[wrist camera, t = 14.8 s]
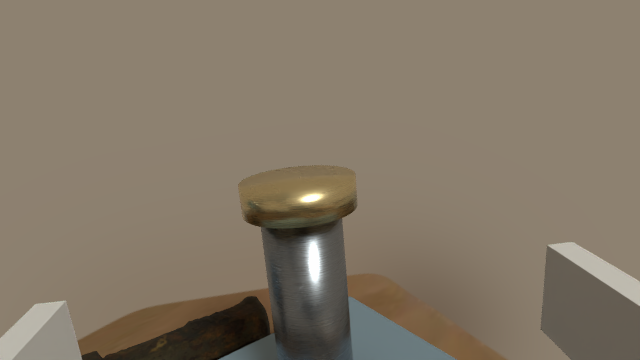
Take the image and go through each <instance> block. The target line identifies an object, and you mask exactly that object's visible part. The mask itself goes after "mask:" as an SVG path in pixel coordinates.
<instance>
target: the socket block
mask: <svg viewBox="0 0 640 360" xmlns="http://www.w3.org/2000/svg"><path fill="white" fill-rule="evenodd" d="M348 301H349V314H350V327H351V340H352V352H353V360H456V359H455V358H453V357H451V356H450V355H448V354H446V353H445V352H443V351H441V350H440V349H438V348H436V347H435V346H433V345H431V344H430V343H428V342H426V341H424V340H423V339H421V338H419V337H418V336H416V335H414V334H413V333H411V332H409V331H408V330H406V329H404V328H403V327H401V326H399V325H397V324H396V323H394V322H392V321H391V320H389V319H387V318H386V317H384V316H382V315H381V314H379V313H377V312H376V311H374V310H372V309H370V308H369V307H367V306H365V305H364V304H362V303H360V302H359V301H357V300H355V299H354V298H352V297H348ZM218 360H278V357H277V349H276V341H275V333H273V334H271V335H268V336H266V337H264V338H262V339H260V340H258V341H256V342H254V343H252V344H250V345H248V346H246V347H243V348H241V349H239V350H237V351H235V352H233V353H231V354H229V355H227V356H225V357H223V358H221V359H218Z"/></svg>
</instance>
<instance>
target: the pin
mask: <svg viewBox="0 0 640 360" xmlns="http://www.w3.org/2000/svg"><path fill="white" fill-rule="evenodd" d="M238 187H239V195H240V203H241V209H242V217H243V219H244V220H245V221H246V222H248V223H250V224H252V225H255V226H259V227H261V232H262V239H263V247H264V255H265V262H266V271H267V279H268V286H269V294H270V302H271V310H272V318H273V325H274V333H275V341H276V349H277V357H278V360H353V352H352V340H351V327H350V314H349V301H348V289H347V276H346V264H345V251H344V238H343V225H342V218H343V217H345V216H347V215H349V214H351V213H352V212H353V211H354V210H355V209H356V208H357V192H356V177H355V172H354V171H352V170H350V169H348V168H343V167H338V166H324V165H322V166H321V165H314V166H298V167H289V168H282V169H276V170H271V171H267V172H262V173H259V174H256V175H253V176H250V177H248V178H246V179H244V180H242V181H241V182H240V183H239V184H238Z"/></svg>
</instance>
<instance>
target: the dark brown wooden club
mask: <svg viewBox="0 0 640 360" xmlns="http://www.w3.org/2000/svg"><path fill="white" fill-rule="evenodd" d="M268 335H271V334H270V328H269V321H268V316H267V313H266V310H265V308H264V307H263V305H262V304H261V303H260V302H259V300H258V298H257V297H254V296H250V297H246V298H245V299H244V300H243V301H242V302H240V303H239V304H237V305H235V306H233V307H231V308H229V309H226V310H223V311H220V312H215V313H214V314H212V315H210V316H205V317H203V318H200V319H195V320H193V321H189V322H188V323H187V324H186V325H185V326H184V327H181V328H178V329H176V330H174V331H171V332H168V333H166V334H163V335H161V336H159V337H156V338H154V339H151V340H149V341H146V342H143V343H141V344H138V345H135V346H133V347H130V348H127V349H125V350H121V351H119V352H117V353H113V354H109V355H106V356H105V358H102V357H101V356H100V355H99V354H98V353H97V351H94V352H91V353H88V354H85V355H82V356H81V357H82V360H214V359H217V358H219V357H222V356H224V355H226V354H229V353H231V352H233V351H236V350H239V349H241V348H242V347H244V346H246V345H248V344H250V343H253V342H255V341H258V340H260V339H262V338H264V337H266V336H268Z"/></svg>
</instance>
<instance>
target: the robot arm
mask: <svg viewBox="0 0 640 360" xmlns="http://www.w3.org/2000/svg"><path fill="white" fill-rule="evenodd" d="M544 280H545V281H544V292H543V293H544V294H543V305H542V318H541V330H542V331H543V332H544V333H545V334H546V335H547V336H548V337H549V338H550V339H551V340H552V341H553V342H554V343H555V344H556V345H557V346H558V347H559V348H560V349H561V350H562V351H563V352H564V353H565V354H566V355H567V356H568V357H569V358H570V359H571V360H640V281H638V280H636V279H634V278H633V277H631V276H629V275H628V274H626V273H624V272H623V271H621V270H619V269H617V268H616V267H614V266H613V265H611V264H609V263H607V262H606V261H604V260H602V259H601V258H599V257H597V256H596V255H594V254H592V253H591V252H589V251H587V250H586V249H584V248H582V247H580V246H579V245H577V244H575V243H574V242H569V243H560V244H552V245H547V253H546V266H545V279H544ZM0 360H82V357H81V353H80V350H79V346H78V343H77V339H76V335H75V332H74V328H73V324H72V321H71V317H70V314H69V310H68V306H67V302H66V301H59V302H50V303H42V304H35V305H34V306H33V307H32V308H31V309H30V310H29V311H28V312H27V313H26V314H25V315H24V316H23V317H22V318H21V319H20V320H19V321H18V322H16V323H15V324H14V325H13V326H12V327H11V328H10V329H9V330H8V331H7V332H6V333H5V334H4V335H3V336H2V337H1V338H0Z"/></svg>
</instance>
